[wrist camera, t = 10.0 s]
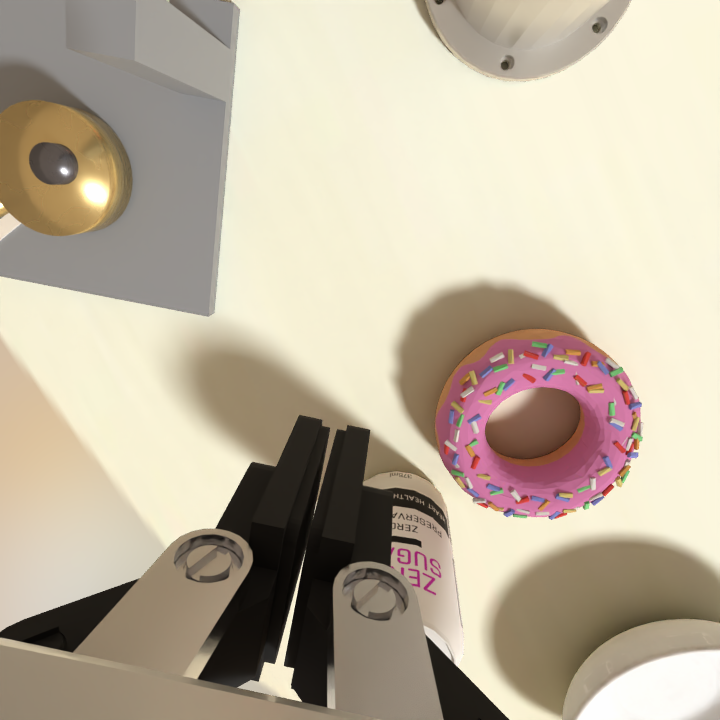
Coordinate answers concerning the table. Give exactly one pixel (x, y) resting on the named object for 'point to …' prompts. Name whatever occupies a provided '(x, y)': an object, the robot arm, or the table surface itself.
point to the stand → (131, 139)
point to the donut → (563, 466)
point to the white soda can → (425, 556)
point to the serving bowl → (651, 675)
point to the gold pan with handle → (61, 169)
